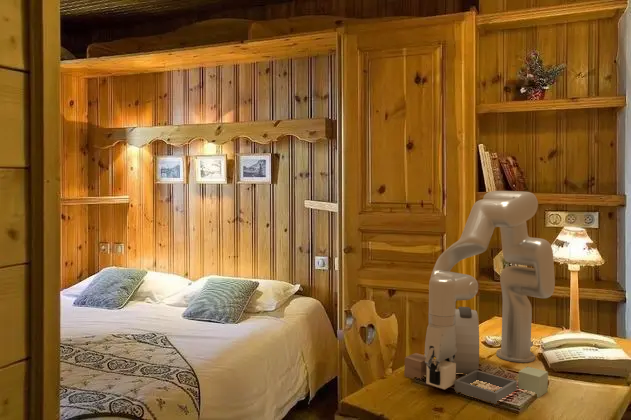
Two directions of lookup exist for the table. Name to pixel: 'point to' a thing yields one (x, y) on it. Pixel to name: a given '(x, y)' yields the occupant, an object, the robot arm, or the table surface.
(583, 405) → the table surface
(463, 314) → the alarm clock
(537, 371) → the sage block
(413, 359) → the walnut block
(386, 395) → the table surface
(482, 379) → the grey tray
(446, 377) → the cream block
